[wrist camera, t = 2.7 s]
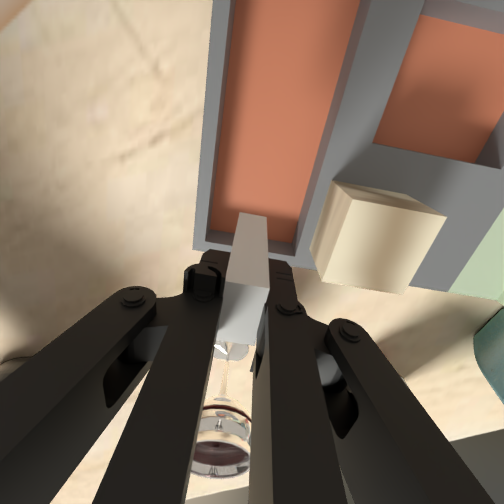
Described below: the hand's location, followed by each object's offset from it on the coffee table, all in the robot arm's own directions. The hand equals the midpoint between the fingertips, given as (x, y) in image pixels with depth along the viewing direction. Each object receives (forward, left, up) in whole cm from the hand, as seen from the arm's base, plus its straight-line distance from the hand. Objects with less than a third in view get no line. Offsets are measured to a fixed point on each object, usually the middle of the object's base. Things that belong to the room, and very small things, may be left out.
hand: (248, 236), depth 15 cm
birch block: (+9, 0, -7) cm, 11 cm away
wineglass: (+1, -20, -10) cm, 23 cm away
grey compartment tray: (+11, +5, -10) cm, 15 cm away
